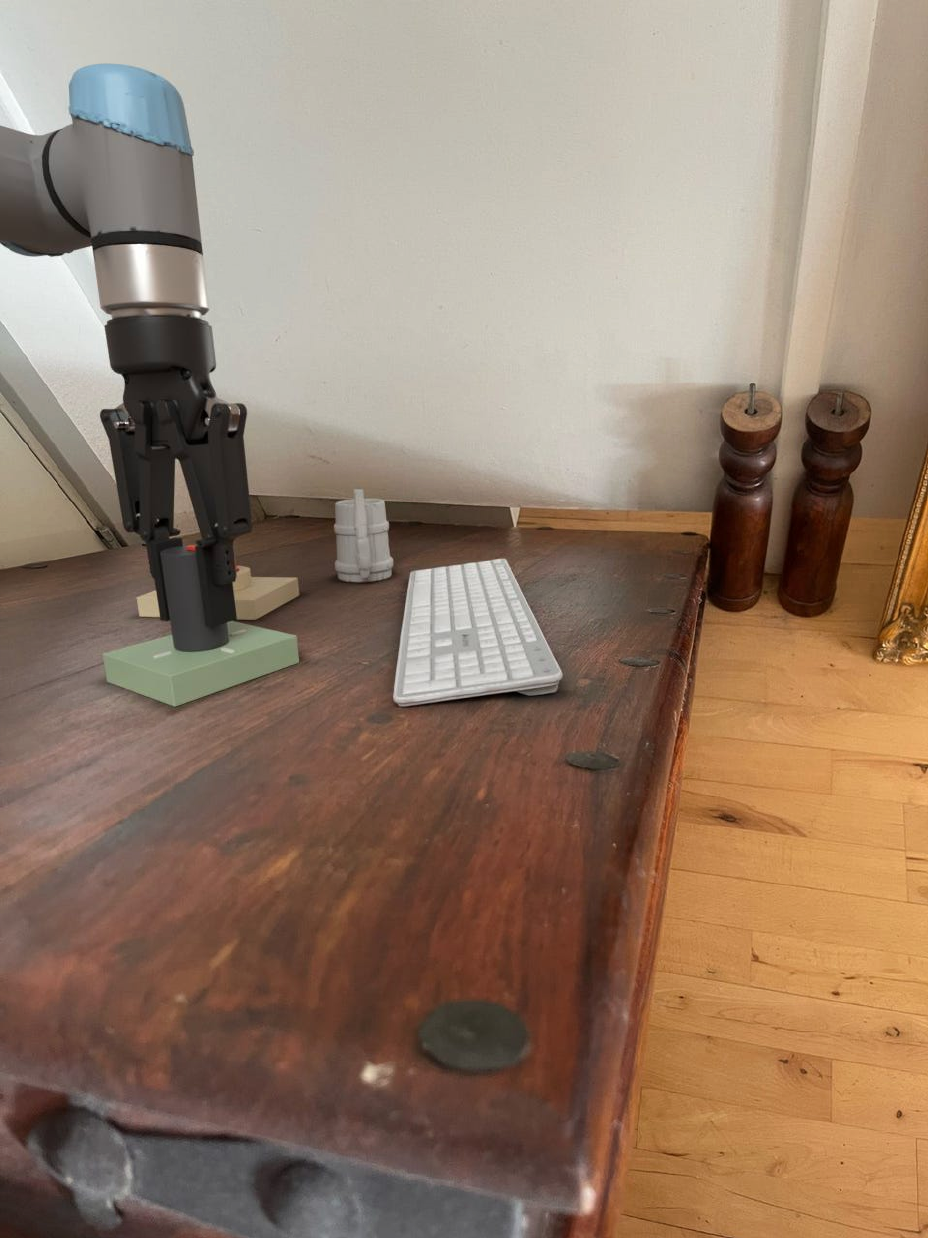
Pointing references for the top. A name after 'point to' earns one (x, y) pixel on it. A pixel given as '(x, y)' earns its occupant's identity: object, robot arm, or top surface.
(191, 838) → the top surface
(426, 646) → the keyboard
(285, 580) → the button base
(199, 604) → the dial
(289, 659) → the dial panel
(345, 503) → the mug
